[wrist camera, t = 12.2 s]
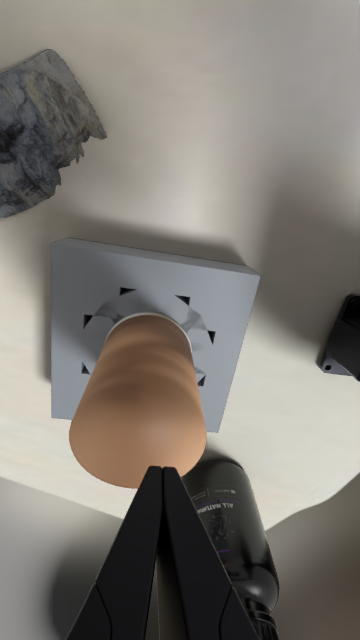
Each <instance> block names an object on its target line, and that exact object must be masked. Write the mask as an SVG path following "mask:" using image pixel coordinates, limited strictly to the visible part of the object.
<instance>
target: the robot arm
mask: <svg viewBox="0 0 360 640" xmlns="http://www.w3.org/2000/svg"><path fill="white" fill-rule="evenodd" d="M354 299H355V301H354V303H352V300H354ZM327 365H328V367H326V366H327ZM319 367H320V369H321V370H322V371H323V372H324V373H330V374H338V375H347V376H353V377H354V378H355V379H356V380H357V381H360V295H359V294H350V295H349V296H347V298H346V299H345V302H344V304H343V307H342V309H341V312H340V314H339V317H338V319H337V322H336V323H335V326H334V328H333V331H332V333H331V336H330V339H329V341H328V344H327V346H326V349H325V352H324V355H323V357H322V360H321V362H320V366H319ZM325 367H326V368H325ZM155 562H156V569H157V570H156V571H157V590H158V591H157V592H158V610H159V612H158V613H159V634H160V640H260V638H259V636H258V634H257V633H256V631H255V629H254V627H253V625H252V623H251V621H250V619H249V617H248V615H247V613H246V611H245V609H244V607H243V605H242V603H241V601H240V599H239V597H238V595H237V593H236V591H235V589H234V588H233V587H232V583H231V581H230V579H229V577H228V575H227V572H226V570H225V568H224V566H223V564H222V562H221V560H220V558H219V556H218V554H217V552H216V550H215V548H214V545H213V543H212V541H211V539H210V537H209V535H208V533H207V531H206V529H205V527H204V525H203V523H202V521H201V519H200V516H199V514H198V512H197V510H196V508H195V506H194V504H193V502H192V500H191V498H190V496H189V494H188V492H187V489H186V487H185V485H184V483H183V481H182V479H181V477H180V475H179V473H178V471H177V469H176V468H175V467H168V466H164V467H163V468H162V467H161V466H153V465H150V466H149V467H148V469H147V471H146V473H145V475H144V477H143V480H142V482H141V484H140V486H139V488H138V490H137V492H136V494H135V497H134V499H133V501H132V503H131V505H130V507H129V509H128V511H127V514H126V516H125V518H124V520H123V522H122V524H121V526H120V528H119V530H118V533H117V535H116V537H115V539H114V541H113V543H112V545H111V547H110V550H109V552H108V554H107V556H106V558H105V560H104V563H103V565H102V567H101V569H100V571H99V573H98V575H97V577H96V579H95V583H94V585H92V588H91V590H90V592H89V594H88V596H87V598H86V600H85V602H84V604H83V606H82V608H81V610H80V612H79V614H78V616H77V618H76V620H75V622H74V624H73V626H72V628H71V630H70V632H69V634H68V636H67V637H66V639H65V640H145V634H146V627H147V620H148V613H149V605H150V598H151V591H152V583H153V577H154V569H155Z"/></svg>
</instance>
